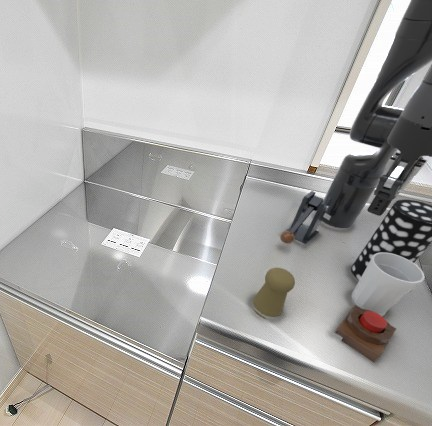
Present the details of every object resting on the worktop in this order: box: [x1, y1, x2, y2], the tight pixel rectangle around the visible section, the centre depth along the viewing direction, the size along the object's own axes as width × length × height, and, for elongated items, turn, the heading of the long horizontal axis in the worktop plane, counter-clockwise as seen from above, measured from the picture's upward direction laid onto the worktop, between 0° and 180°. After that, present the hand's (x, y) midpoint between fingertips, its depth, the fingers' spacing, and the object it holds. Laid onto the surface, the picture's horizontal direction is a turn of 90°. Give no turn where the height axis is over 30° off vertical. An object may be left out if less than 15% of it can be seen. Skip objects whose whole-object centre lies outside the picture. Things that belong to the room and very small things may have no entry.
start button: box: [359, 311, 388, 333], centre depth 56 cm, size 4×4×2 cm
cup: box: [351, 252, 425, 317], centre depth 60 cm, size 8×8×12 cm
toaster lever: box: [279, 195, 324, 245], centre depth 75 cm, size 15×3×3 cm, turn 128°
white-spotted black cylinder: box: [350, 199, 432, 281], centre depth 64 cm, size 8×8×20 cm
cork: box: [252, 267, 296, 320], centre depth 61 cm, size 6×6×11 cm
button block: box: [334, 304, 397, 363], centre depth 57 cm, size 9×7×4 cm
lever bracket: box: [285, 190, 332, 245], centre depth 79 cm, size 8×6×13 cm
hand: (374, 212), depth 53 cm, fingers closed
